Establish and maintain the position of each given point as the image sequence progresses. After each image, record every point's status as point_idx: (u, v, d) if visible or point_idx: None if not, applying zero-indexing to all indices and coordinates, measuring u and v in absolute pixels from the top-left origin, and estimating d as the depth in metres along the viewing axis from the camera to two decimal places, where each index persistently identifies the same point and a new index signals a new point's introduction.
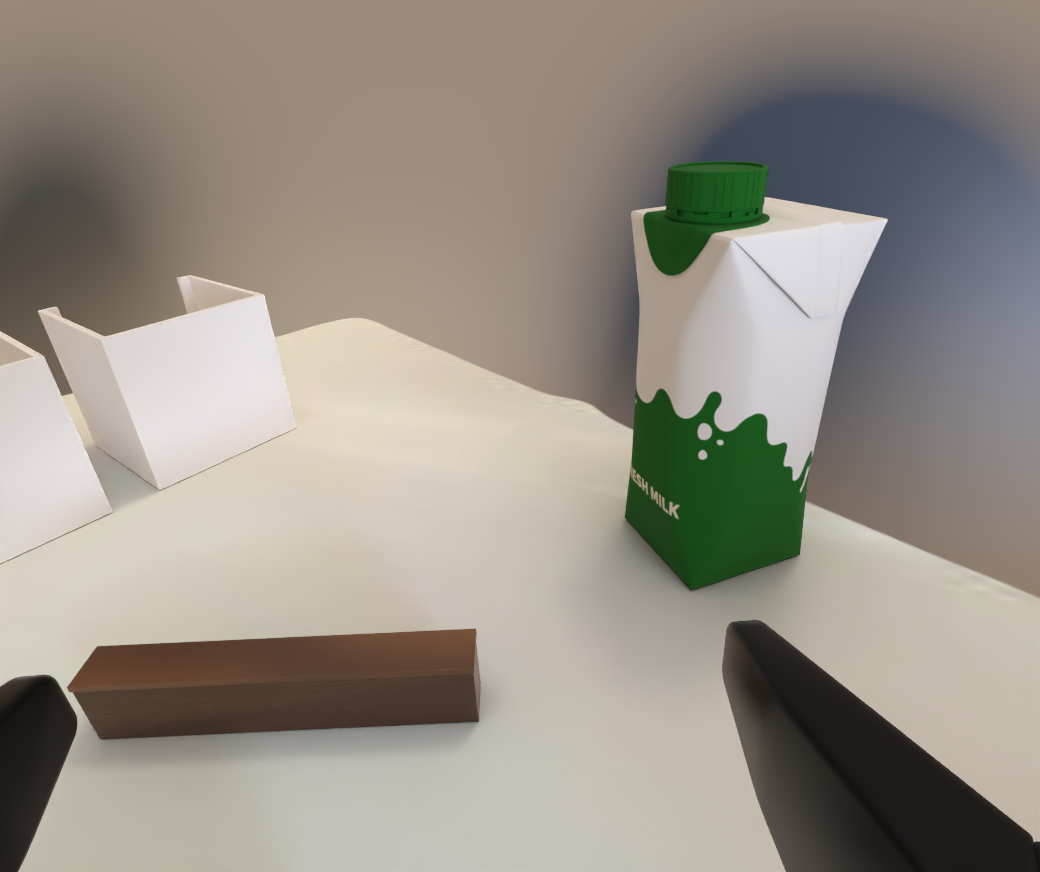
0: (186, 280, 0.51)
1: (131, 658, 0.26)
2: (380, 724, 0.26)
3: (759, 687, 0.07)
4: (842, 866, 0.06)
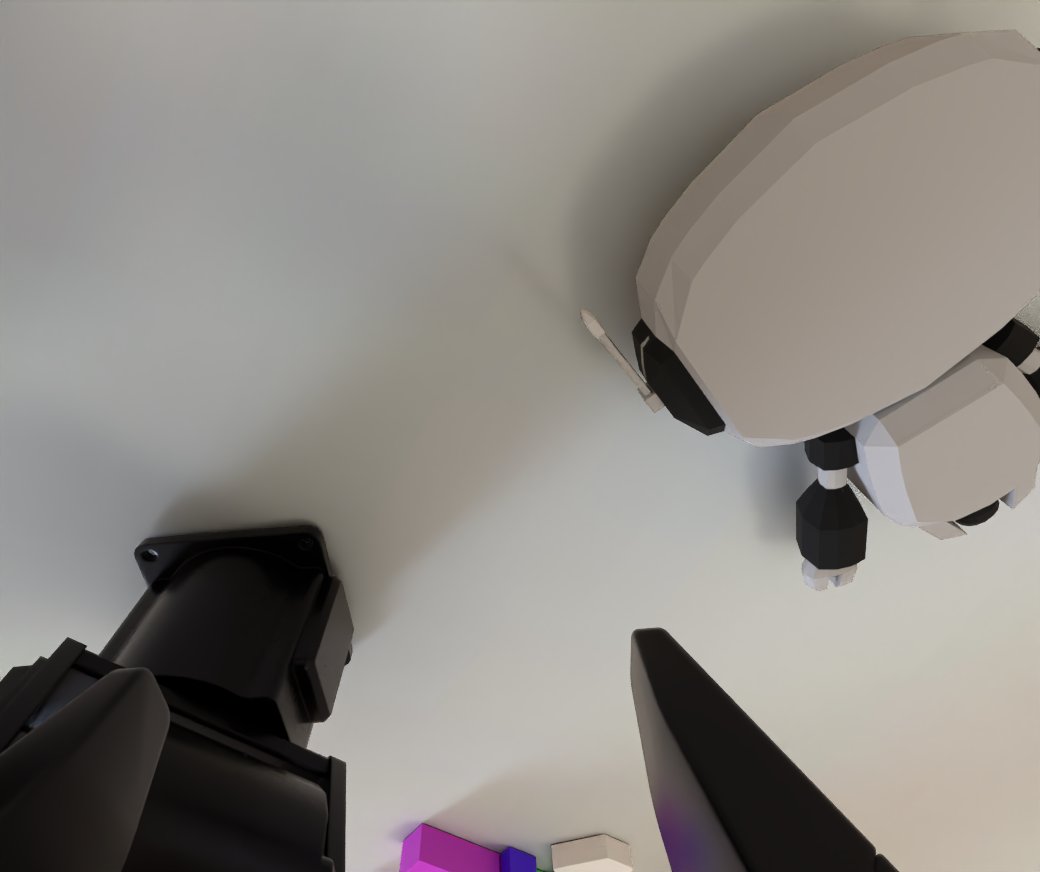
0: None
1: None
2: None
3: (650, 696, 0.07)
4: None
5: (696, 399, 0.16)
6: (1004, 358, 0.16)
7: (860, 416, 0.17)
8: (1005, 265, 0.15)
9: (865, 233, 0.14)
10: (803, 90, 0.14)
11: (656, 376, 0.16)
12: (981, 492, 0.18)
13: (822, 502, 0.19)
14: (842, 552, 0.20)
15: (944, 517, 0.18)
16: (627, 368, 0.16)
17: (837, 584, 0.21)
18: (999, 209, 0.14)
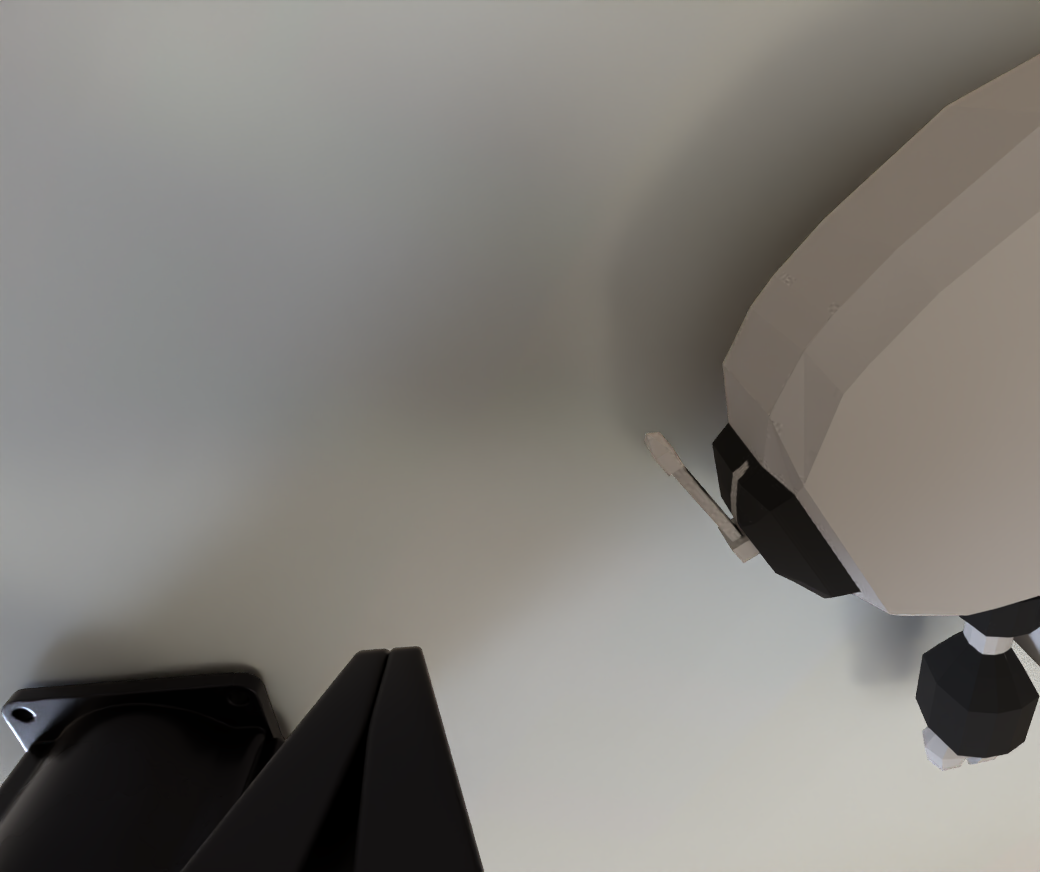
0: None
1: None
2: None
3: None
4: None
5: (819, 558, 0.10)
6: None
7: None
8: None
9: None
10: (1036, 64, 0.08)
11: (756, 522, 0.10)
12: None
13: (974, 671, 0.13)
14: (997, 738, 0.14)
15: None
16: (711, 510, 0.10)
17: (973, 761, 0.15)
18: None
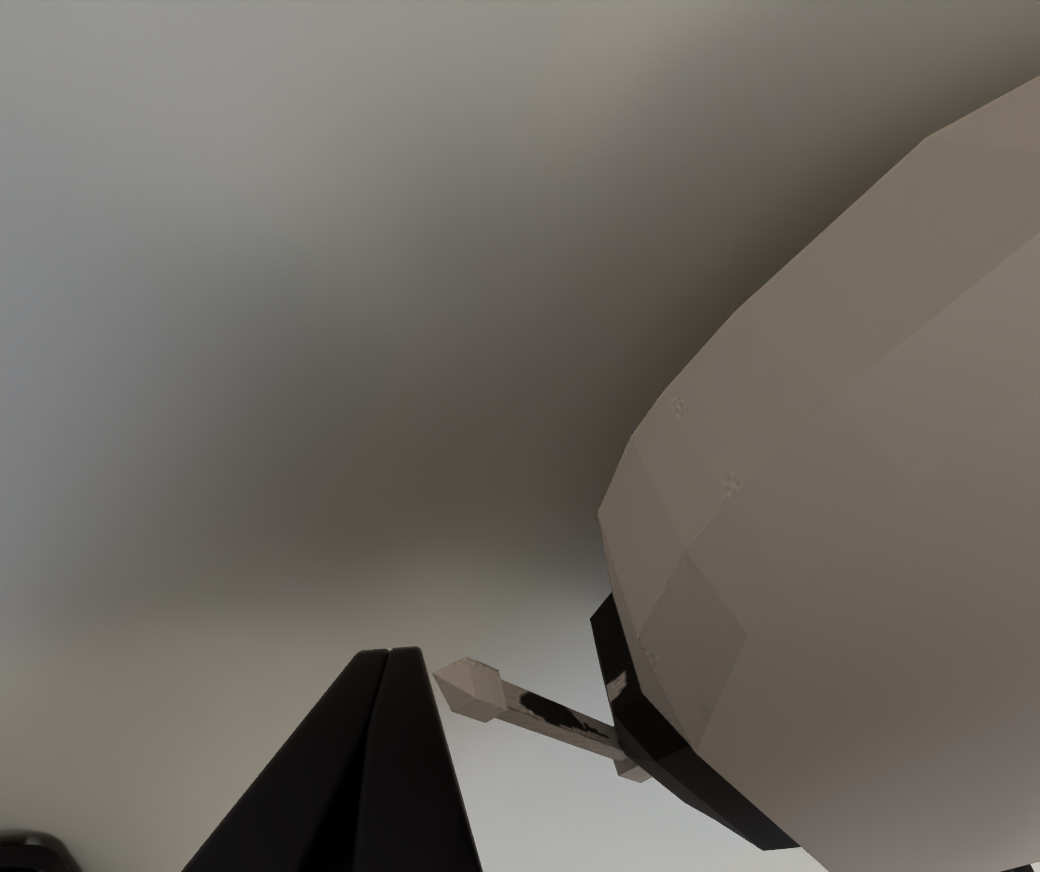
0: None
1: None
2: None
3: None
4: None
5: (738, 812, 0.07)
6: None
7: None
8: None
9: None
10: None
11: (643, 760, 0.07)
12: None
13: None
14: None
15: None
16: (574, 740, 0.07)
17: None
18: None
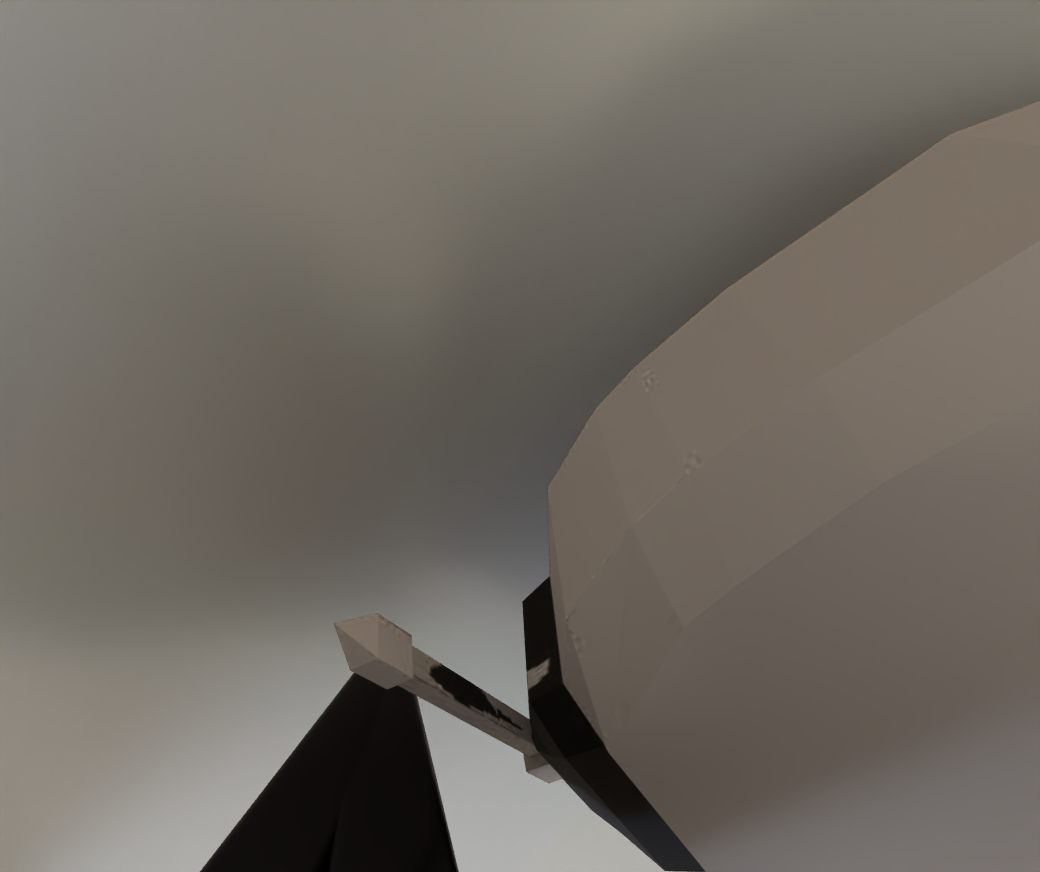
0: None
1: None
2: None
3: None
4: None
5: (644, 824, 0.06)
6: None
7: None
8: None
9: None
10: None
11: (553, 756, 0.06)
12: None
13: None
14: None
15: None
16: (484, 725, 0.06)
17: None
18: None
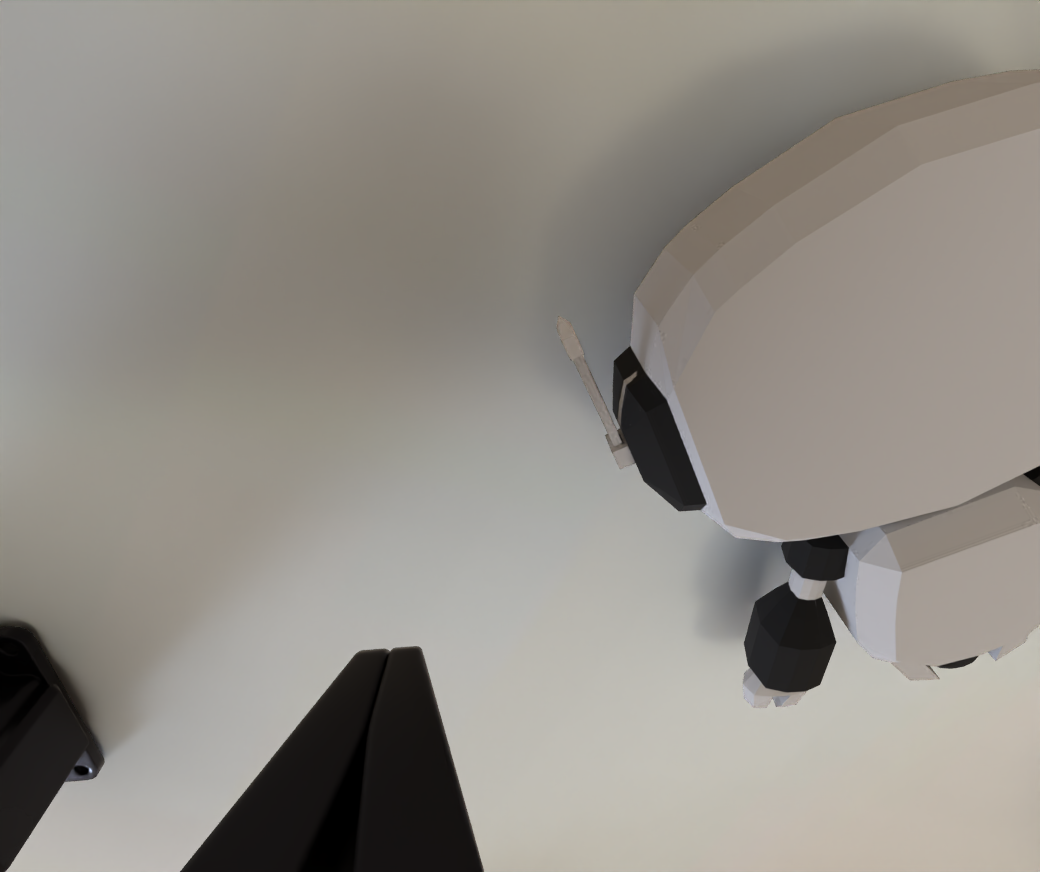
0: None
1: None
2: None
3: None
4: None
5: (678, 465, 0.12)
6: None
7: (868, 527, 0.13)
8: None
9: (944, 302, 0.11)
10: (902, 100, 0.11)
11: (634, 425, 0.12)
12: (975, 640, 0.15)
13: (789, 612, 0.16)
14: (798, 675, 0.16)
15: (926, 660, 0.15)
16: (600, 407, 0.12)
17: (779, 704, 0.18)
18: None
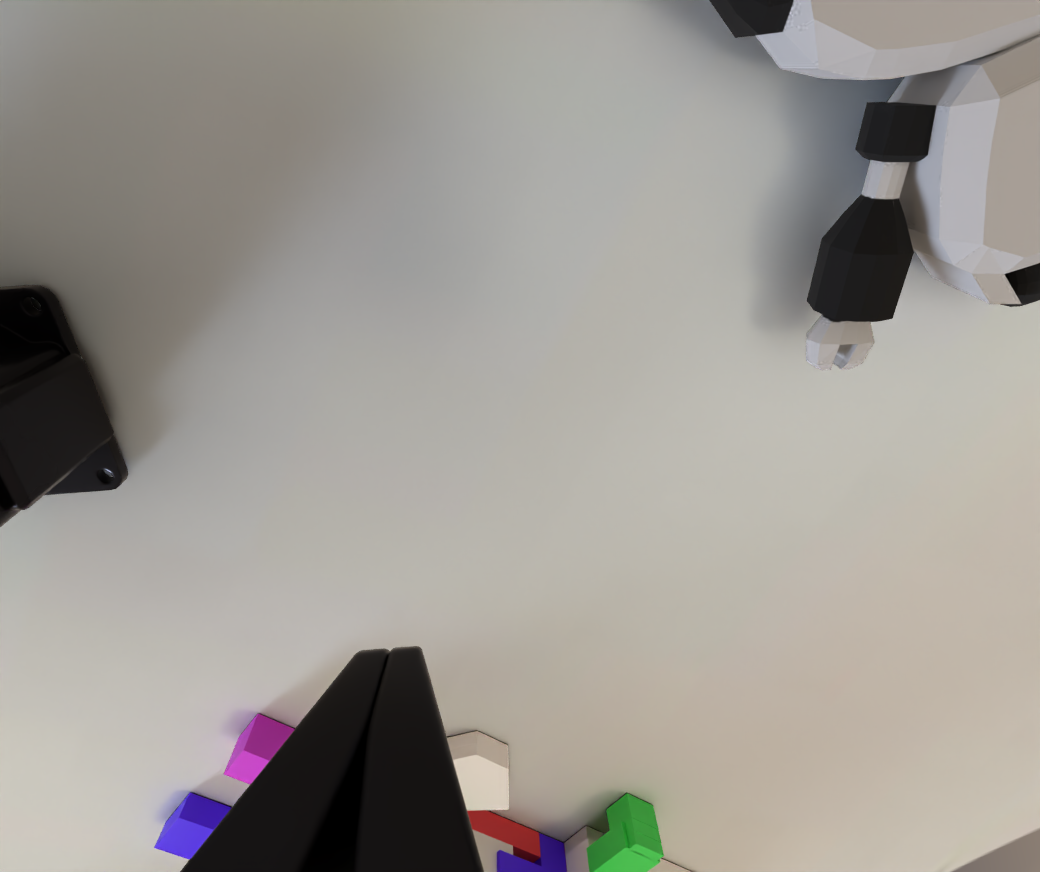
0: None
1: None
2: None
3: None
4: None
5: None
6: None
7: (967, 35, 0.12)
8: None
9: None
10: None
11: None
12: None
13: (864, 216, 0.15)
14: (872, 294, 0.15)
15: (1015, 246, 0.14)
16: None
17: (844, 364, 0.17)
18: None
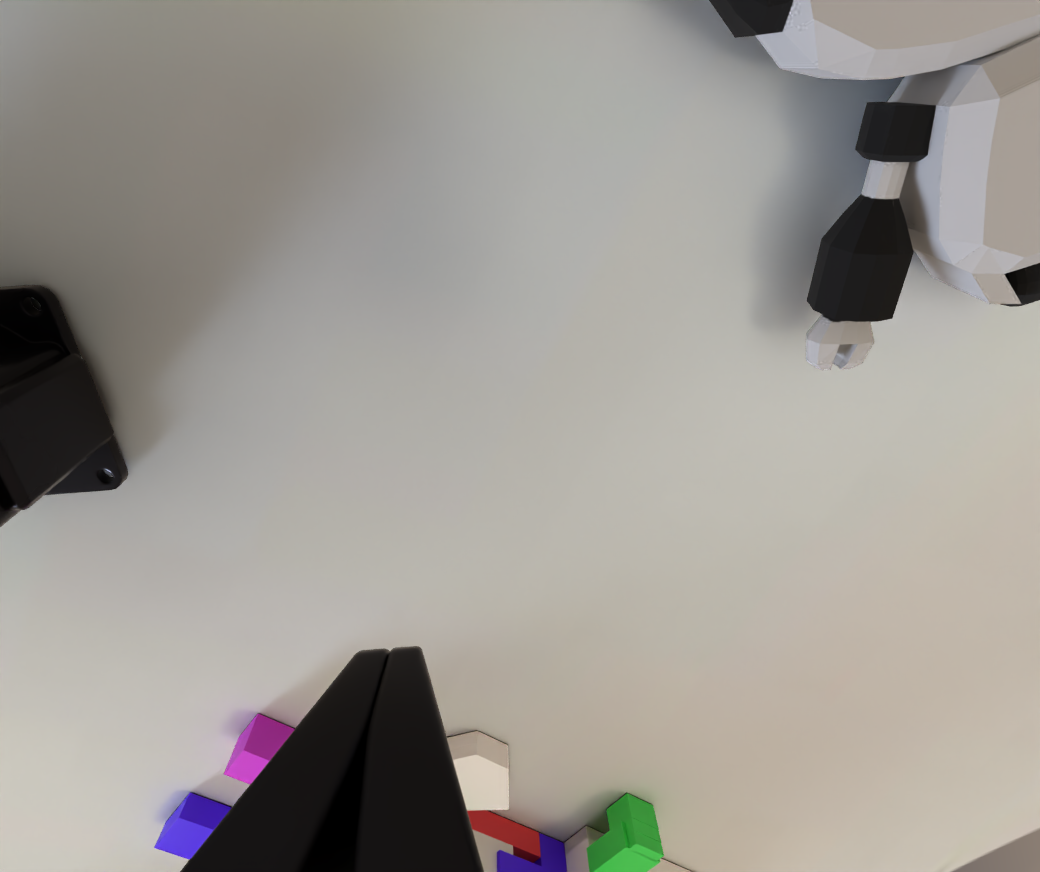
0: None
1: None
2: None
3: None
4: None
5: None
6: None
7: (967, 34, 0.12)
8: None
9: None
10: None
11: None
12: None
13: (864, 216, 0.15)
14: (871, 294, 0.15)
15: (1015, 246, 0.14)
16: None
17: (845, 364, 0.17)
18: None
